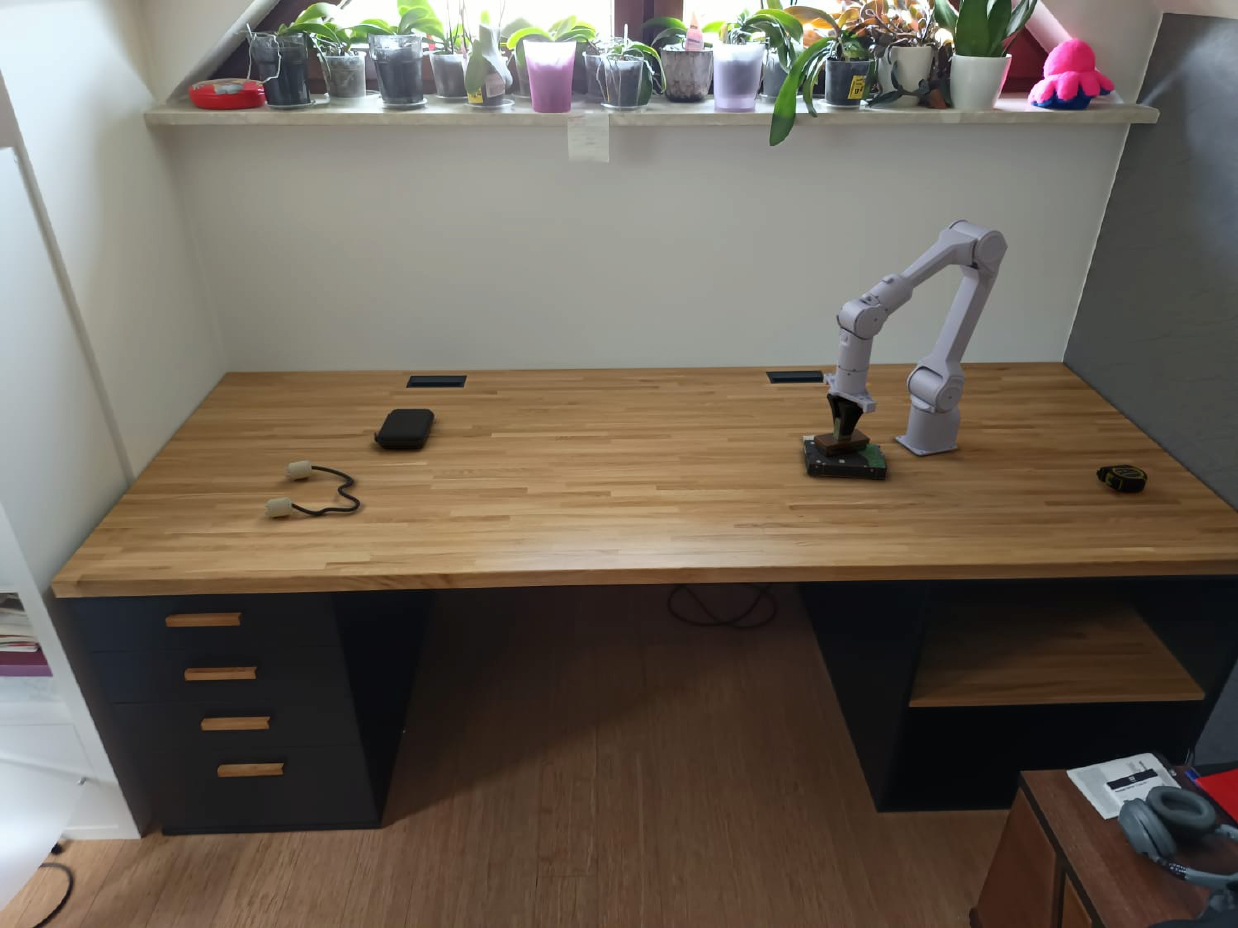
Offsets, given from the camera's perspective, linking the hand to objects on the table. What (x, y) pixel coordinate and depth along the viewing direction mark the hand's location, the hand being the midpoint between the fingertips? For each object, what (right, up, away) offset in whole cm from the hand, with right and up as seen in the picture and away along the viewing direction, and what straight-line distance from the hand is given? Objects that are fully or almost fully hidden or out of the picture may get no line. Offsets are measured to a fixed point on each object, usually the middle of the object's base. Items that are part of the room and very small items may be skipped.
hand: (843, 431), depth 167 cm
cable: (-97, -12, -9) cm, 98 cm away
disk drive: (+1, -7, +2) cm, 7 cm away
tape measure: (+50, -11, -4) cm, 51 cm away
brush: (0, -3, +2) cm, 4 cm away
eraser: (-3, -1, +10) cm, 10 cm away
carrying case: (-87, 0, +12) cm, 88 cm away
